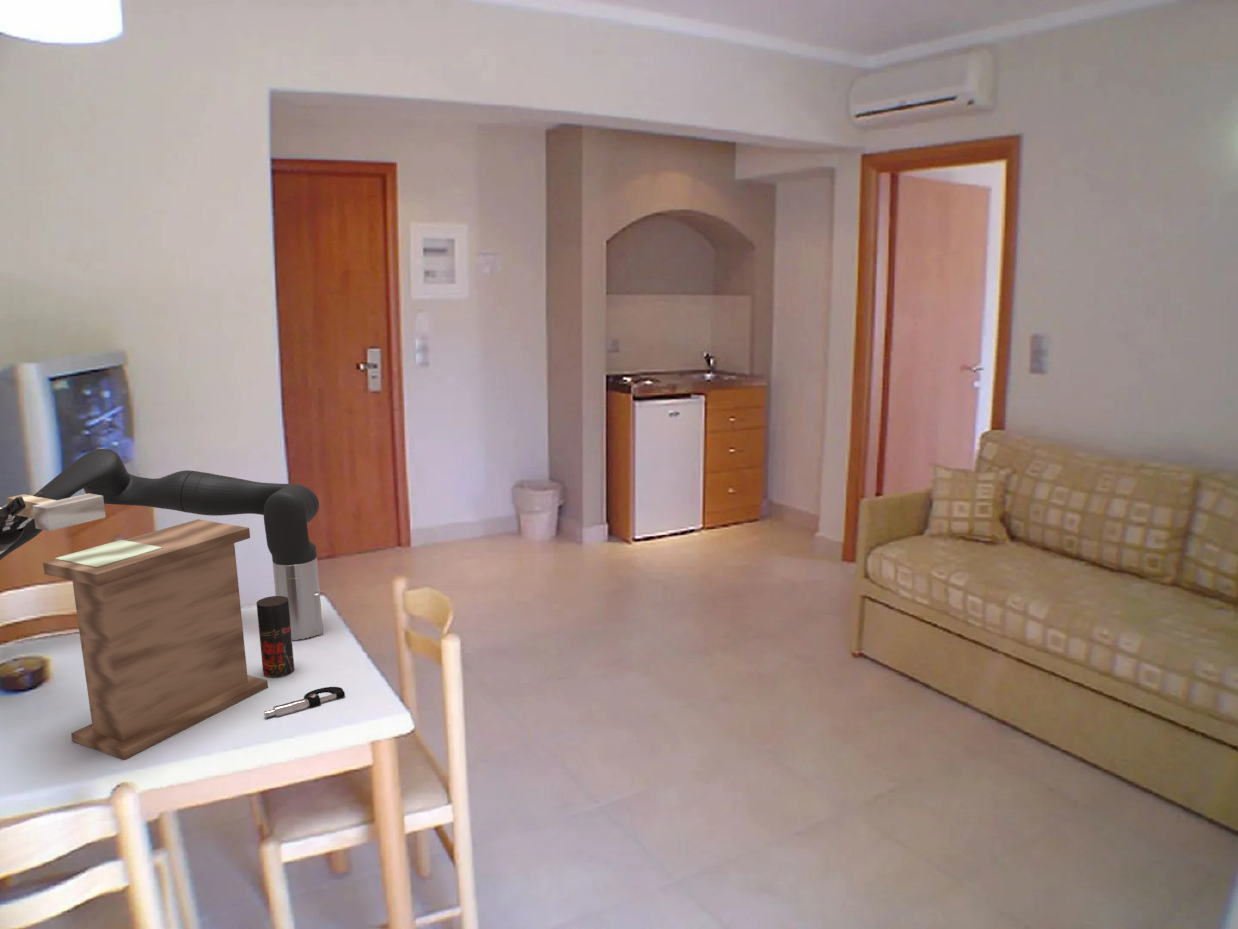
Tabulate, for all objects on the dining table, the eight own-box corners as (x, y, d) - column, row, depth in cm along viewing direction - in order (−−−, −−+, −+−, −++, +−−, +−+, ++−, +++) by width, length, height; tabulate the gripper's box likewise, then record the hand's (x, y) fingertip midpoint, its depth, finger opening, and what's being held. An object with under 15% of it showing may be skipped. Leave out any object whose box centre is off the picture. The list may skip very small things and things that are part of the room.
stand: (68, 740, 158) (42, 561, 151) (214, 673, 184) (197, 518, 177) (125, 760, 151) (100, 574, 144) (267, 687, 177) (252, 527, 170)
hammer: (-11, 518, 163) (-15, 496, 162) (45, 505, 172) (42, 485, 171) (49, 531, 155) (46, 508, 154) (105, 517, 164) (103, 495, 163)
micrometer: (336, 686, 178) (335, 674, 178) (348, 700, 172) (348, 687, 172) (256, 708, 170) (255, 695, 169) (267, 722, 164) (265, 709, 163)
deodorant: (257, 672, 184) (251, 601, 181) (285, 662, 188) (279, 593, 185) (271, 680, 180) (265, 608, 177) (299, 671, 184) (293, 600, 181)
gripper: (-58, 525, 167) (-18, 488, 159) (21, 508, 180) (62, 473, 171) (-41, 562, 167) (0, 527, 158) (37, 542, 179) (78, 509, 171)
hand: (32, 499), depth 165 cm, fingers closed on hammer, 3 cm apart
